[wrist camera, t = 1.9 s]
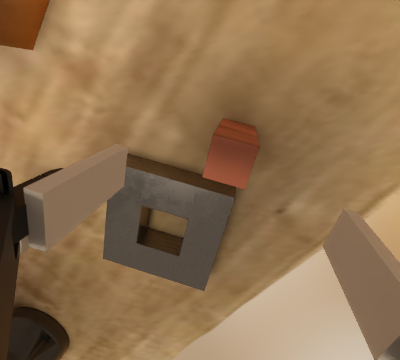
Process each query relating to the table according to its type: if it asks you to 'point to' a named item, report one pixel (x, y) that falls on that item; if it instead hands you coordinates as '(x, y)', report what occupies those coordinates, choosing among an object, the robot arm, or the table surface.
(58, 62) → the table surface
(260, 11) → the table surface
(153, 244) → the socket block
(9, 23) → the bread
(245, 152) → the peg
